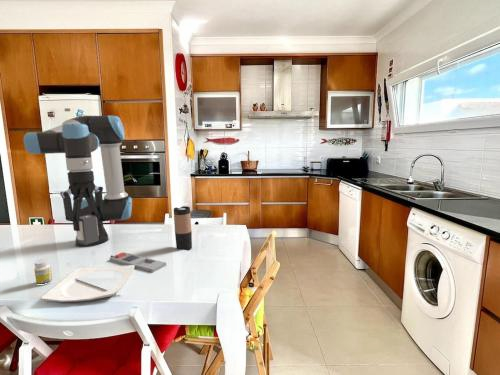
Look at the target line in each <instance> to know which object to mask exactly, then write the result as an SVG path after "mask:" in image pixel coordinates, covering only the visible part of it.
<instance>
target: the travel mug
mask: <svg viewBox="0 0 500 375" xmlns="http://www.w3.org/2000/svg"><path fill="white" fill-rule="evenodd" d="M173 221H174V222H173V223H174V237H175V247H176V249H177V250H181V251H191V250H192V248H193V240H192V239H193V238H192V218H191V207H190V206H183V205H182V206H181V207H174V208H173Z"/></svg>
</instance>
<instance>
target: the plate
mask: <svg viewBox="0 0 500 375" xmlns="http://www.w3.org/2000/svg"><path fill="white" fill-rule="evenodd" d="M134 267H135V265H121V266H104V267H78V268H76V269H74V270H73V271H72V272H71V273H69V274H68V275H67V276H66V277H64V278H63V279H61V280H60V282H58V283H56V285H54V286H53V287H52V288H51V289H50V290H48V291H47V292H46V293H45V294H44V295H43V296H42V297H40V299H41V300H43V301H45V302H46V301H47V302H56V303H57V302H61V303H71V302H72V303H74V302H85V301H93V300H98V299H103V298H108V297H112V296H113V295H115V294H116V293H118V291H119V290H120V291H121V289H122V288H123V287H125V285H126V284H127V283H129V281H130V279H131V277H132V276H133V273H134V271H135V268H134ZM99 272H100V273H101V272H115V273H119V274H121V275H122V276H123V277H122V280H121V281H120V282H119V283H117V285H115V287H111V288H110V289H105V288H103V287H100V286H97V285H94V284H91V283H88V282H86V281H83V280H80V279H79V278H80V277H82V276H87V275H90V274H94V273H99Z"/></svg>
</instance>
